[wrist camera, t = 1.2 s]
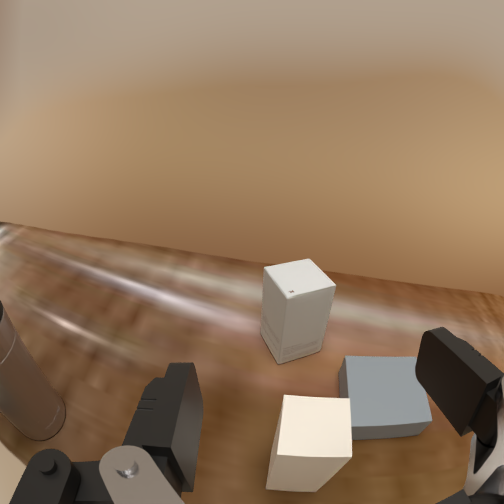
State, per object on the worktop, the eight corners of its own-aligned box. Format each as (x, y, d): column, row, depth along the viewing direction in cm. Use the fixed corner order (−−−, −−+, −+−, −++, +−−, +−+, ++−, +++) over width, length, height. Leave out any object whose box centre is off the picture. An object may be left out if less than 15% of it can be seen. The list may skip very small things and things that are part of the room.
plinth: (340, 439, 28) (350, 426, 26) (338, 373, 38) (345, 355, 36) (418, 434, 27) (432, 420, 25) (405, 373, 36) (415, 356, 34)
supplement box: (321, 352, 41) (338, 285, 35) (277, 366, 39) (285, 298, 33) (300, 321, 47) (310, 257, 41) (259, 332, 45) (262, 265, 39)
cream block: (265, 489, 23) (276, 454, 16) (271, 448, 28) (284, 394, 21) (315, 492, 22) (351, 456, 16) (318, 451, 27) (349, 398, 20)
